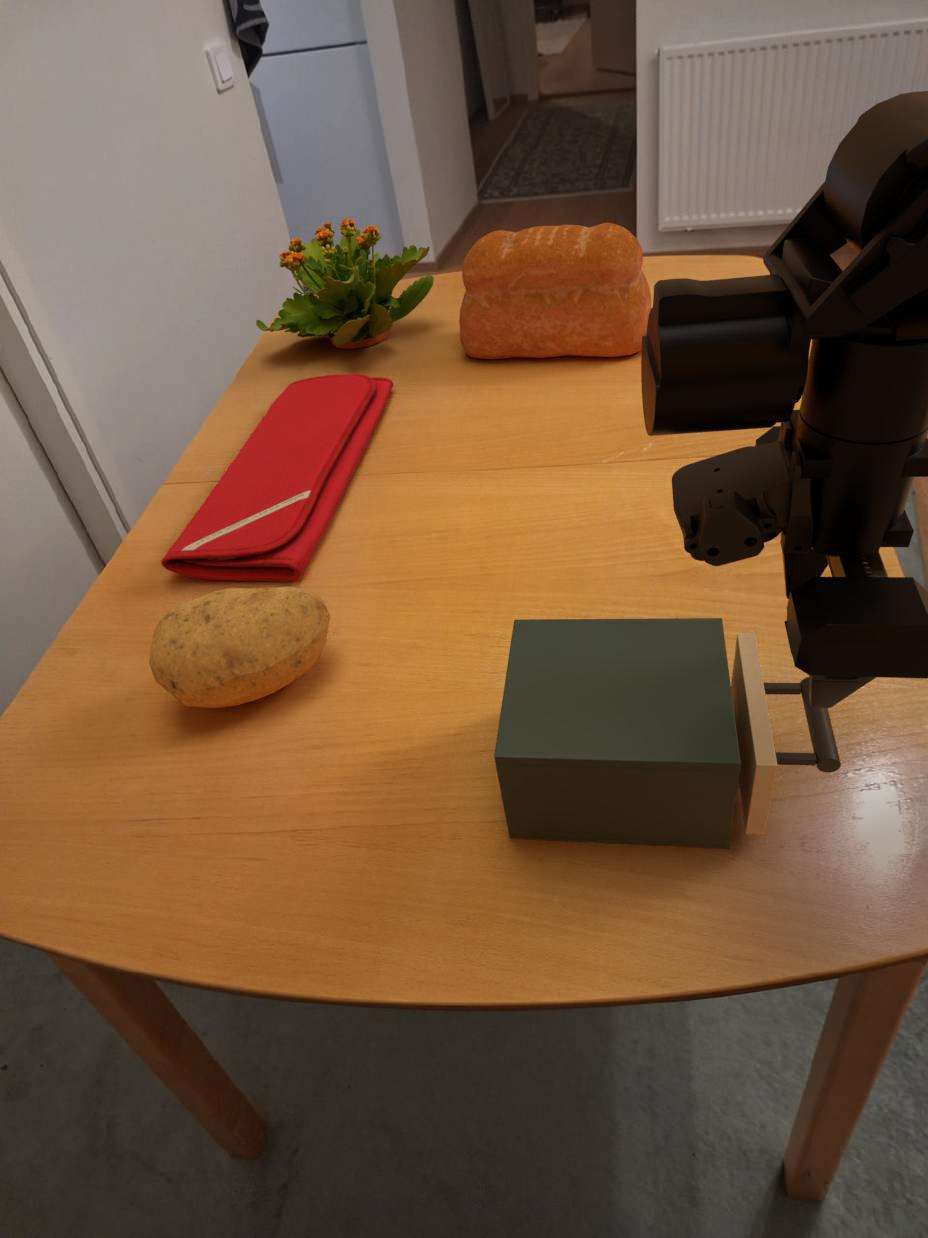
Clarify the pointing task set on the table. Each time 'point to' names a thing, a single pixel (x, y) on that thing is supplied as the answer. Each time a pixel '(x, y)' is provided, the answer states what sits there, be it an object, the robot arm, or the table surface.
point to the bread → (554, 293)
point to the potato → (238, 644)
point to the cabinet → (619, 732)
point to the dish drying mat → (283, 483)
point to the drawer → (770, 734)
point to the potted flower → (347, 287)
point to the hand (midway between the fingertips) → (806, 648)
